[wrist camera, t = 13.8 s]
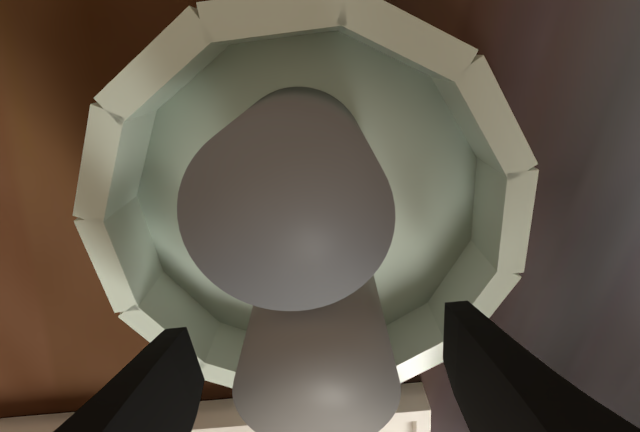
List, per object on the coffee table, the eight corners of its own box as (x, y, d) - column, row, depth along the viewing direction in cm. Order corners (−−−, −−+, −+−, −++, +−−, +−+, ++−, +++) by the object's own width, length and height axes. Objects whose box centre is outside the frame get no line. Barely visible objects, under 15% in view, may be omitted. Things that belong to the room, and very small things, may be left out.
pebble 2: (369, 222, 12) (401, 325, 8) (374, 315, 14) (401, 444, 9) (253, 233, 12) (215, 340, 8) (271, 323, 14) (248, 454, 9)
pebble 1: (363, 82, 10) (398, 105, 6) (364, 209, 12) (393, 306, 7) (225, 91, 10) (151, 121, 6) (245, 216, 12) (201, 316, 7)
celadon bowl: (509, -24, 10) (570, -49, 7) (477, 331, 15) (507, 384, 13) (64, 35, 10) (-12, 30, 8) (184, 358, 15) (159, 413, 13)
